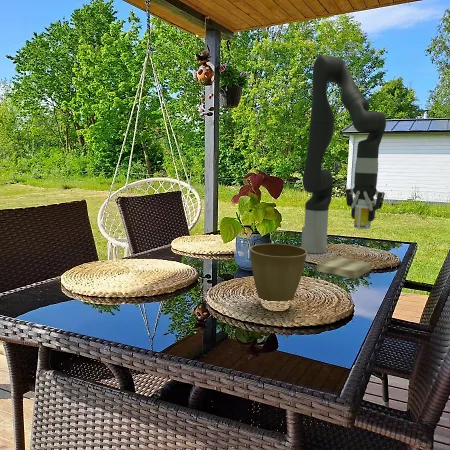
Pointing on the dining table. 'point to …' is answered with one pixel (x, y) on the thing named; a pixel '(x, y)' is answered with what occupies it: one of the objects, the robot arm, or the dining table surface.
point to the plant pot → (277, 270)
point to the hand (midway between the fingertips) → (362, 219)
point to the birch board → (344, 267)
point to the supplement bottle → (362, 215)
